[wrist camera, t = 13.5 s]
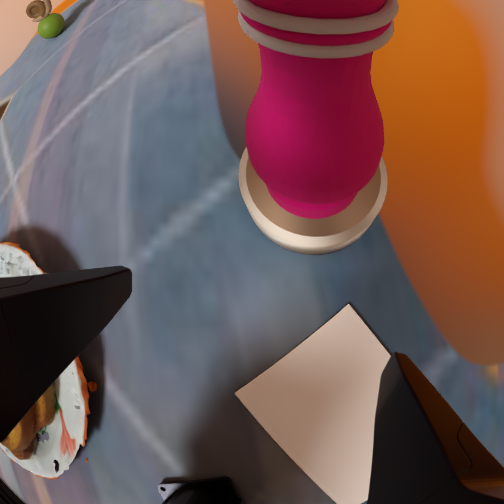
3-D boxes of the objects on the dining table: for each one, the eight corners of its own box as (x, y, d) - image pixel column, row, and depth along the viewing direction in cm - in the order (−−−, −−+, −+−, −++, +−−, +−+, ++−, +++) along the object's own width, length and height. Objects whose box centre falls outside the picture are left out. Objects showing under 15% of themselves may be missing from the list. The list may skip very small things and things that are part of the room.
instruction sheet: (346, 511, 16) (346, 512, 16) (234, 392, 20) (234, 393, 20) (448, 433, 16) (449, 434, 16) (348, 304, 20) (348, 303, 20)
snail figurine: (67, 33, 36) (35, -7, 24) (43, 47, 37) (11, 12, 25) (76, 18, 37) (48, -20, 25) (52, 32, 38) (23, -3, 26)
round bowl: (271, 275, 21) (267, 267, 18) (230, 157, 24) (221, 136, 21) (398, 227, 21) (412, 214, 18) (343, 120, 23) (347, 97, 20)
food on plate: (144, 342, 22) (92, 347, 16) (68, 510, 19) (33, 531, 13) (3, 213, 28) (-35, 196, 22) (-41, 369, 25) (-74, 369, 19)
